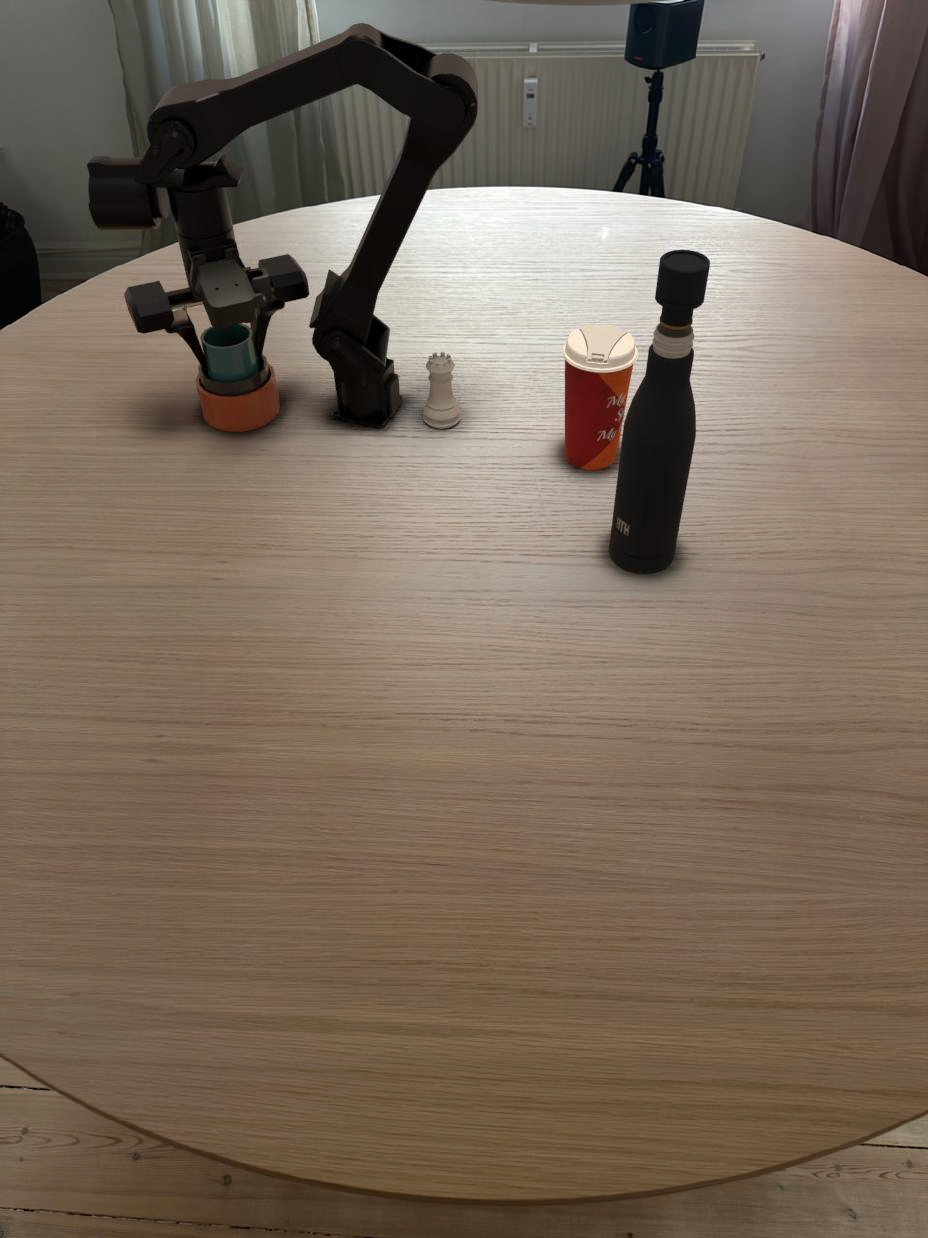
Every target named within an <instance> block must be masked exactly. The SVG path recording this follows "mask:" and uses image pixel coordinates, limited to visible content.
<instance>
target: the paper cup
mask: <svg viewBox="0 0 928 1238" xmlns="http://www.w3.org/2000/svg"><path fill="white" fill-rule="evenodd" d="M561 354H562V357H563V359H564V454H565V458H566V460H567V462H568V463H569V464H570V465H572V466H574V467H576V468H578V469H581V470H587V471H597V470H603V469H606V468H608V467H610V466H611V465H612V464H613V463H614V462H615V461H616V456H617V452H618V448H619V445H620V443H619V442H620V439H621V433H622V428H623V424H624V417H625V413H626V406H627V402H628V395H629V391H630V386H631V380H632V374H633V369H634V364H635V363H636V361H637V360H638V357H639V351H638V347H636V341H635V339H634V337H633V335H632V334H631V333H630V332H628V331H627V330H625V329H622V328H621V327H617V326H614V325H609V324H589V325H584V326H580V327H578V328H576V329H574V330H572V331H571V332H570V334H569V335H568V336H567V338H566V342H565V343H564V344H563V346H562V348H561Z"/></svg>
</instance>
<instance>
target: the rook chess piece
mask: <svg viewBox="0 0 928 1238" xmlns="http://www.w3.org/2000/svg"><path fill="white" fill-rule="evenodd" d="M451 356H452V355H451V354H450V353H446V352H444V351H440V355H438V353H437V352H433V353H432V355H429V356H428V361H427V362H426V364H425V369H426V370H427V372H429V374H428V376H427V379H428V382H429V393H428V397H427V398H426V401H425V403H424V405H423V408H422V411H423V414H422V418H423V421H424V422H425V423H426V424H427V425H428V426H429V427H431V428H433V429H438V430H443V429H450V428H452V427H454V426H455V425H456V424H458V423H459V422H460V420H461V418H462V414H461V406H460V403H459V401H457V398H456V397H455V395H454V391H453V385H452V381H453V379H454V374H452V371H453V370H454V369H455V367H456V364H455V362H454V361H453V360H452V357H451Z"/></svg>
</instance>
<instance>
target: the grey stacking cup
mask: <svg viewBox="0 0 928 1238" xmlns="http://www.w3.org/2000/svg"><path fill="white" fill-rule="evenodd" d="M267 362H268V359H267V357H266V356H265V355H264V354H263V353H262V357H261V358H259V359H258V363H259V369H260V371H259V372H258V373H257V374H255V375H254V376H252V377H250V378H247V379H244V380H240V381H234V382H220V381H215V380H211V379H209V375H208V371H204V369H203V368H202V366H201V364H200V363H199V364H198V366H197V367H198V369H197V370H198V373H199V375H200V380H201V384H202V388H203V389H204V390H205V391H207V392H209V393H211V394H214V395H218V396H239V395H245V394H248V393H251V392H254V391H256V390H258V389H260V388H261V387H263V386H264V385H265V384H266V383H267V382H268V381H269V380H270V375H269V369H268V363H269V362H268V363H267Z"/></svg>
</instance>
